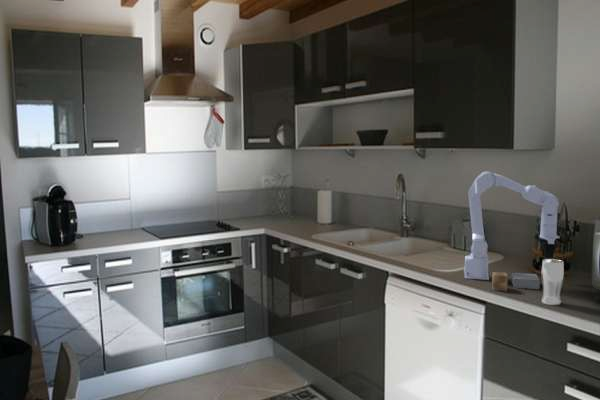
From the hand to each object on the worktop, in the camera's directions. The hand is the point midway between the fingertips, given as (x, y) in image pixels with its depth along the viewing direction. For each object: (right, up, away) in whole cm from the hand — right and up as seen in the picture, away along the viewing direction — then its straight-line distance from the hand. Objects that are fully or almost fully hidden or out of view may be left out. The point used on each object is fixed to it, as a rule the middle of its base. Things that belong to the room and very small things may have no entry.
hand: (546, 258), depth 204 cm
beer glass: (-10, -13, -24) cm, 29 cm away
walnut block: (-22, -11, -7) cm, 25 cm away
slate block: (-10, -11, -2) cm, 15 cm away
